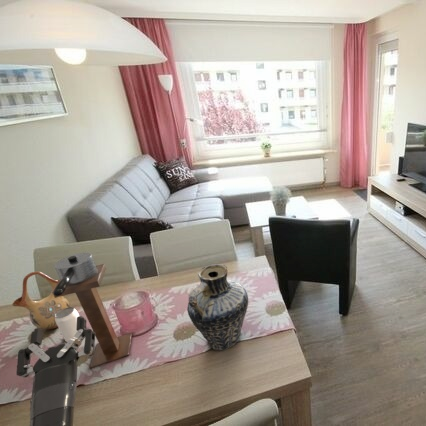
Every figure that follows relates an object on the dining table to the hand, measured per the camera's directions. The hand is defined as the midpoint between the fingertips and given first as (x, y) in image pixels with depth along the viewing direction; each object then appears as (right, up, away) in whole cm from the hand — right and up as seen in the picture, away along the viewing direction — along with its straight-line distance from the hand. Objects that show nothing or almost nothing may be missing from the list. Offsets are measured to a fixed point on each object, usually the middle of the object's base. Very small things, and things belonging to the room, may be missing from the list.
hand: (60, 323), depth 74 cm
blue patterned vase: (+32, -19, +32) cm, 49 cm away
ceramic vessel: (-40, -17, +43) cm, 61 cm away
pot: (-7, +6, +12) cm, 15 cm away
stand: (-7, -21, +29) cm, 37 cm away
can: (-26, -19, +37) cm, 49 cm away
